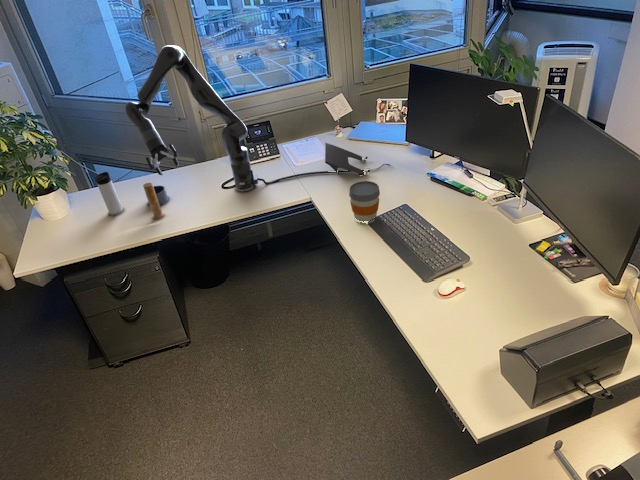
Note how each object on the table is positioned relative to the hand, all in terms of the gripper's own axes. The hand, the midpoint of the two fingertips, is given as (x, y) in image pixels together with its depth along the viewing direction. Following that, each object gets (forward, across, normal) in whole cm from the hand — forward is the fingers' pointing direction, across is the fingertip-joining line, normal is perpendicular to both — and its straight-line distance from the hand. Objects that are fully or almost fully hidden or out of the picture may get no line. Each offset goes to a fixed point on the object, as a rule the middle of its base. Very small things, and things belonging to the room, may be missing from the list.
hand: (169, 170), depth 218 cm
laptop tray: (+38, -76, -19) cm, 87 cm away
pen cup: (+8, +14, -9) cm, 18 cm away
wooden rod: (+17, +14, +3) cm, 23 cm away
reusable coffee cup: (+64, -68, +20) cm, 95 cm away
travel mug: (+4, +33, -4) cm, 33 cm away
